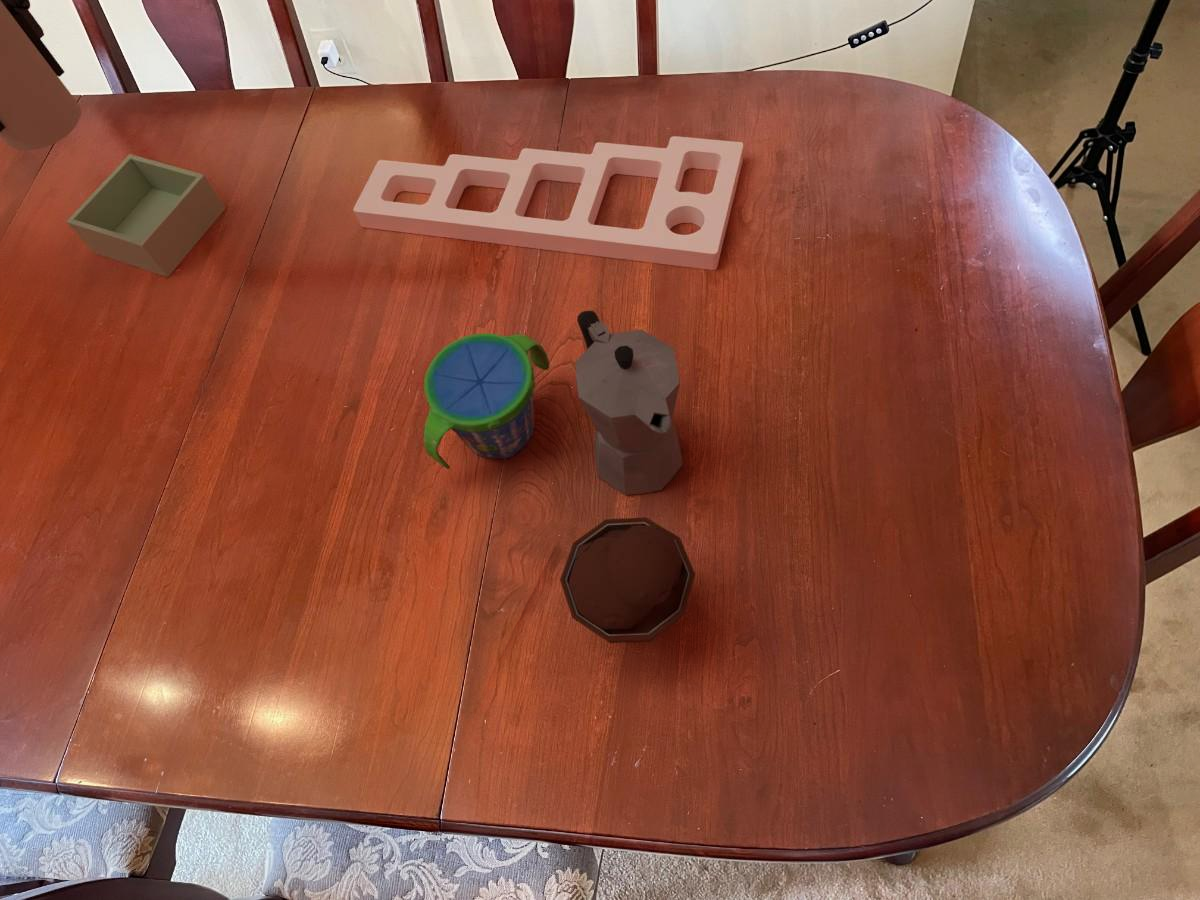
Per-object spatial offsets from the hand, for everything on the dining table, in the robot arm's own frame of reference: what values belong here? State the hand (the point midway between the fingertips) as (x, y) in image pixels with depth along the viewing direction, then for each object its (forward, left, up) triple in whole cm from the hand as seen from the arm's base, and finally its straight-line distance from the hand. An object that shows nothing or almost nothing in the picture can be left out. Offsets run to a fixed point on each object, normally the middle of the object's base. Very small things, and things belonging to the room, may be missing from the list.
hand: (23, 98), depth 85 cm
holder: (+42, +27, -25) cm, 56 cm away
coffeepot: (+66, -3, -25) cm, 71 cm away
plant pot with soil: (+73, -19, -25) cm, 80 cm away
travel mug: (0, 0, -4) cm, 4 cm away
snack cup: (+52, -6, -25) cm, 58 cm away
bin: (-4, +5, -25) cm, 26 cm away
